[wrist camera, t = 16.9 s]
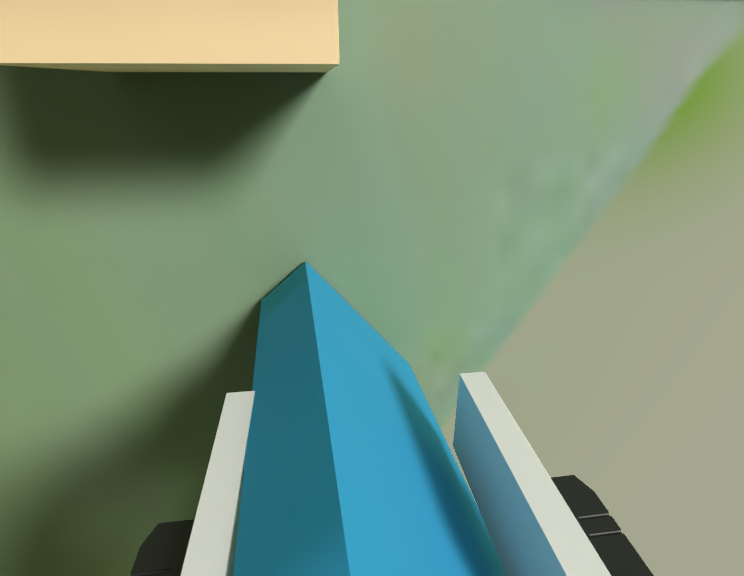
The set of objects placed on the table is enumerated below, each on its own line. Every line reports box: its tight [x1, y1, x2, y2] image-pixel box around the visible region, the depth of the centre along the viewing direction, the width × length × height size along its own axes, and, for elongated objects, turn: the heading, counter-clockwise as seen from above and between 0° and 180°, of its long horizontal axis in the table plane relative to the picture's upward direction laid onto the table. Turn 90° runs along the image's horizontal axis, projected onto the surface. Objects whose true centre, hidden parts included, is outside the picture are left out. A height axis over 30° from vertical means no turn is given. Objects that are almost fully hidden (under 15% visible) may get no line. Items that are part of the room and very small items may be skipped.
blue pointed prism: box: [233, 262, 506, 576], centre depth 12 cm, size 7×7×18 cm
